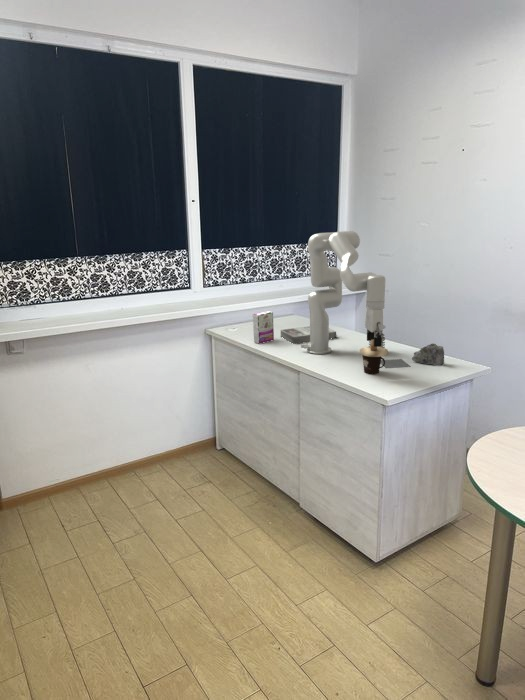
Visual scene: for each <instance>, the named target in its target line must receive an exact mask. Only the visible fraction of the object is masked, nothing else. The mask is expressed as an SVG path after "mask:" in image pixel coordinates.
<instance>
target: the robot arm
mask: <svg viewBox="0 0 525 700" xmlns="http://www.w3.org/2000/svg"><path fill="white" fill-rule="evenodd" d="M360 243H361V238H360V236H359V234H358V233H357V232H356V231H354V230H345V231H343V230H342V231H336V232H335V231H334V232H333V231H332V232H319V233H314V234H312V235H311V236H310V237H309V239H308V242H307V249H308V255H309V259H310V260H309V262H310V283H311V286H312V287H315V288H323V289H318V290H313V291H311V292H310V293H309V294H308V296H307V305H308V308H309V310H308V311H309V326H310V342H306V343H300V348H301V349H306V352H307V353H310V354H313V355H326V354H329V353H331V352H332V348H331V347H330V345H329V340H330V339H329V328H330V325H329V323H330V322H329V321H330V319H329V315H328V313H327V312H326V311H327V310H326V309H331V308H337V307H339V306H340V305H341V304H342V299H343V284H344V286H345V287H346V289H347V290H349V291H350V292H353V293H354V292H362V291H366V301H365V302H366V305H365V308H366V311H365V312H366V313H365V321H364V322H365V324H364V325H365V327H364V328H365V329H366V341H368V342H369V341H371V340H373V339H374V347H379V346H382V333H383V330H384V329H383V325H384V309H385V302H386V301H385V300H386V298H385V297H386V296H385V295H386V277H385V275H382V274H376V273H374V272H361V273H360V272H359V273H353V271H352V269H351V266H353V265H354V264H355V263H356V262H357V261H358V259H359V256H360V255H359V252H358V251H357V249H358V247H359V246H360ZM325 251H329V252H330V251H333V253H334V254H335V255H336V257H337V259H338V260H339V262H340V266H339V268H338V267H336V266H329V265H328V263H329V262H328V261H329V259H328V257H327V255H326V253H325ZM327 287H328V288H327ZM324 288H326V289H324ZM374 334H375V337H374Z"/></svg>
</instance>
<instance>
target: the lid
mask: <svg viewBox="0 0 525 700" xmlns="http://www.w3.org/2000/svg"><path fill="white" fill-rule="evenodd" d="M359 354H360V355H362V356H363V355H364V356H369V357H382V358H383V357H386V356H388V355H389V350H388V349H387V348H386V347H385V348H382V347H374V339H373V340H371V347H369V346H364V347H361V348H360V349H359Z"/></svg>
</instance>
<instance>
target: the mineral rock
mask: <svg viewBox="0 0 525 700" xmlns="http://www.w3.org/2000/svg"><path fill="white" fill-rule="evenodd" d="M411 359H412V361H414V362H416V363H419V364H424V365H432V366H433V365H434V366H443V364H445V349H444V346H442V345H437V344H436V343H434V342H433V343H430V344H427V345H426V346H424V347H421V348H420V349H419V350H418V351H414V352H413V356H412V357H411Z"/></svg>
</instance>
